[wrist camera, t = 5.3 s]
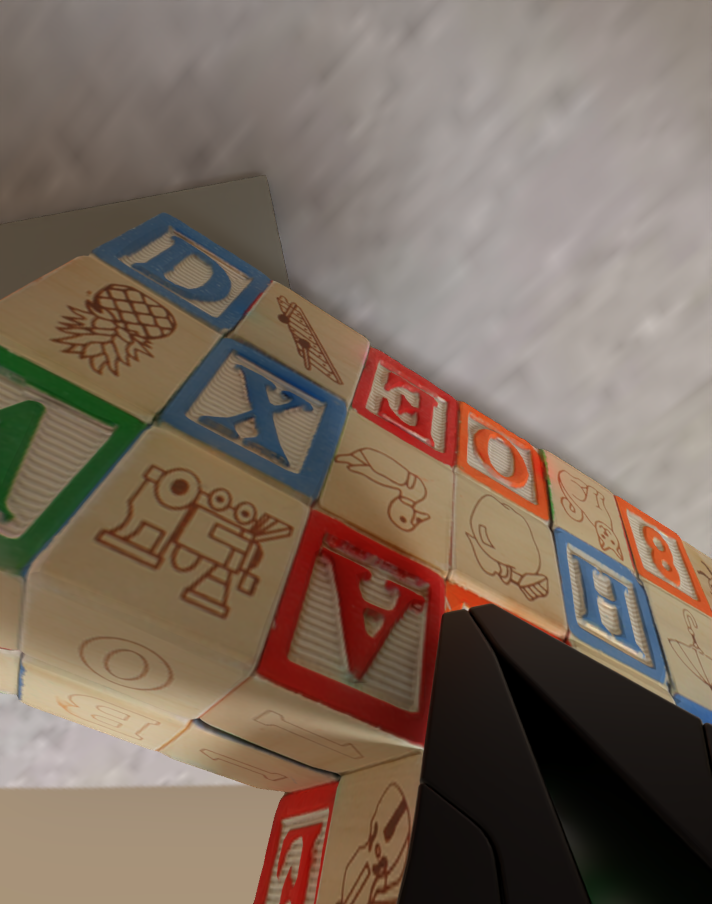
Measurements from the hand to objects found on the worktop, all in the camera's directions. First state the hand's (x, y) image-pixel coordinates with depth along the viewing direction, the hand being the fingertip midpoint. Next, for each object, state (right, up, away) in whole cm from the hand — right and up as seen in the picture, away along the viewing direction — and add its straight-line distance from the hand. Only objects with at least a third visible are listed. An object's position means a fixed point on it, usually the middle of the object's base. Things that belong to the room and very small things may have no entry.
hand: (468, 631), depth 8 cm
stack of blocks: (+1, +2, +8) cm, 9 cm away
